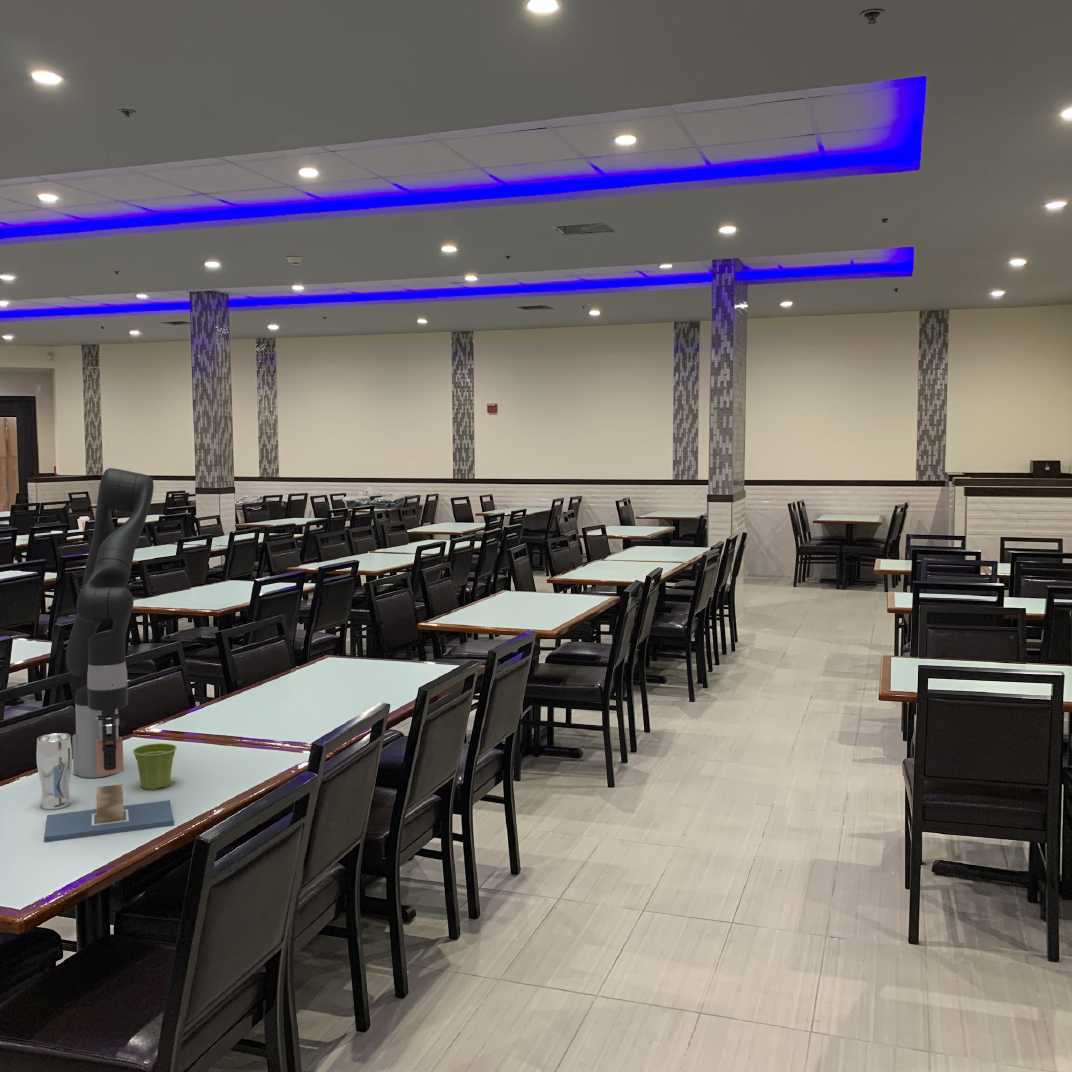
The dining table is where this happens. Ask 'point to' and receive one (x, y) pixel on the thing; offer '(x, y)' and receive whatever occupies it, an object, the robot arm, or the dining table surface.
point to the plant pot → (155, 764)
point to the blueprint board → (87, 822)
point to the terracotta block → (101, 756)
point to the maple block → (109, 803)
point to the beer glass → (54, 769)
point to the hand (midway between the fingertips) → (109, 765)
